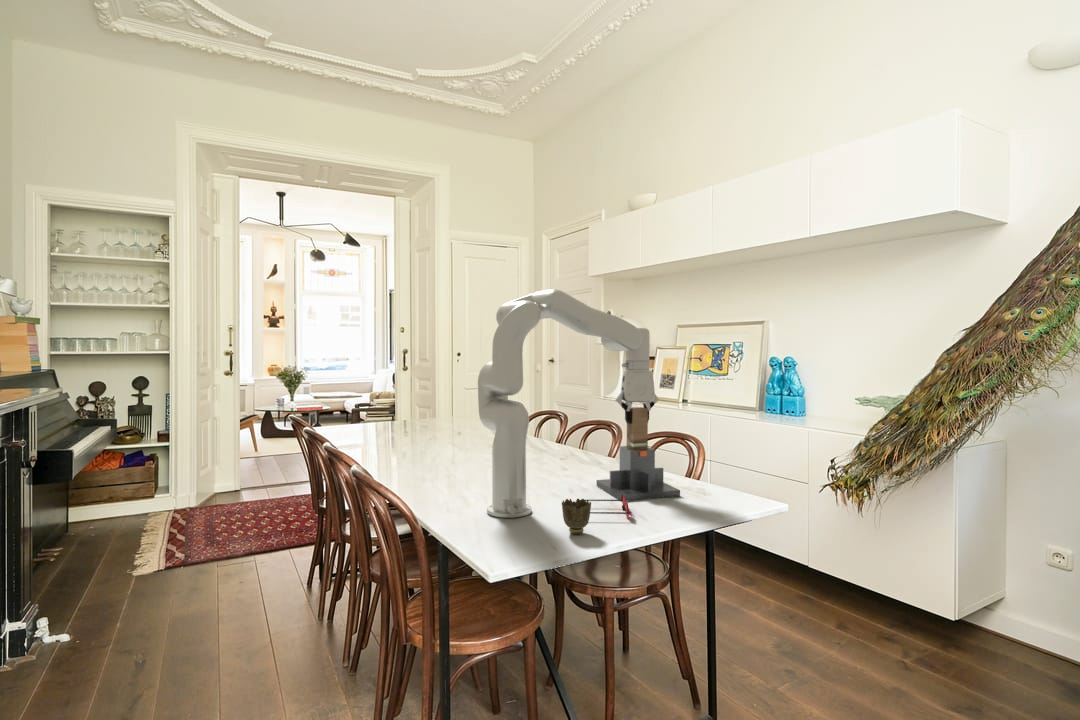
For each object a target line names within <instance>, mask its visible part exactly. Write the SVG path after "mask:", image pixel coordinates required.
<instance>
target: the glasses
mask: <svg viewBox="0 0 1080 720" xmlns="http://www.w3.org/2000/svg"><path fill="white" fill-rule="evenodd" d="M625 497H626V496H624V494H622V500H618V499H584V500H585V501H586V502H587V500H588V502H590V501H591V502H622V506H621V509H622V511H623V512H621V511H618V512H615V511H614V512H613V511H603V512H602V511H601V512H600V511H597V512H594V511H590V514H592V515H593V514H595V515H597V514H601V515H603V514H604V515H605V514H606V515H607V514H608V515H610V514H612V515H615V514H616V515H617V514H618V515H626V519H627V520H628V519H629V517H630V515H632V514H633V512H632V511H630V510H629V509H630V508H629V503H628V502H629V501H628V500H626V499H625Z"/></svg>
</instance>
